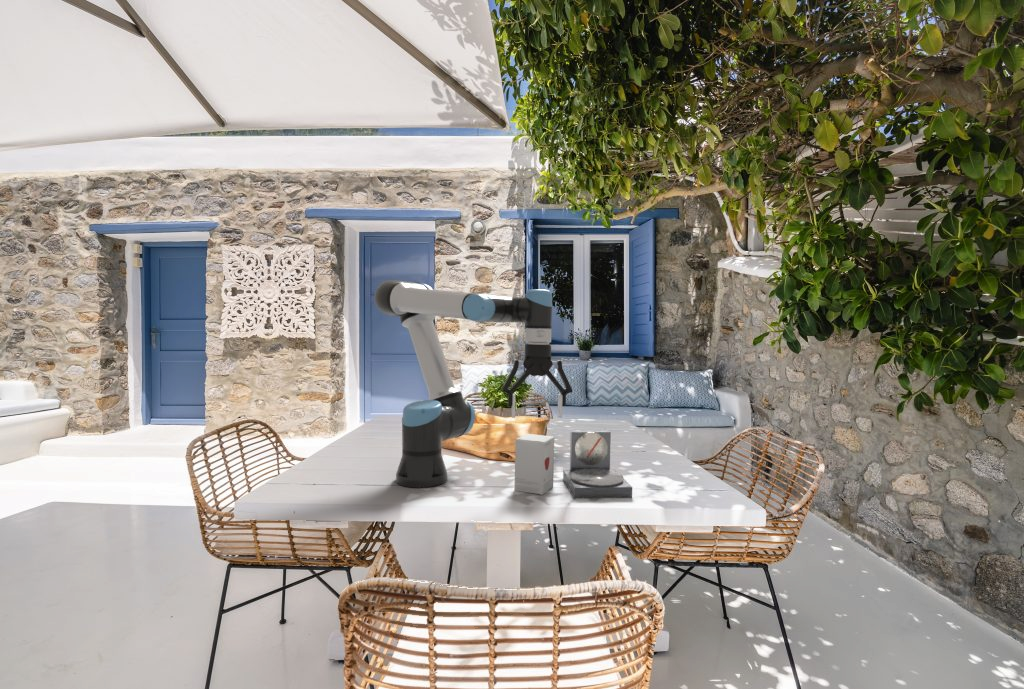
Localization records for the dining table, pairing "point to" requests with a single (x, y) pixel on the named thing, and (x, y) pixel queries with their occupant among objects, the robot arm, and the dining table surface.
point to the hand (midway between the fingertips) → (536, 417)
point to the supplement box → (534, 463)
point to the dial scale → (593, 468)
